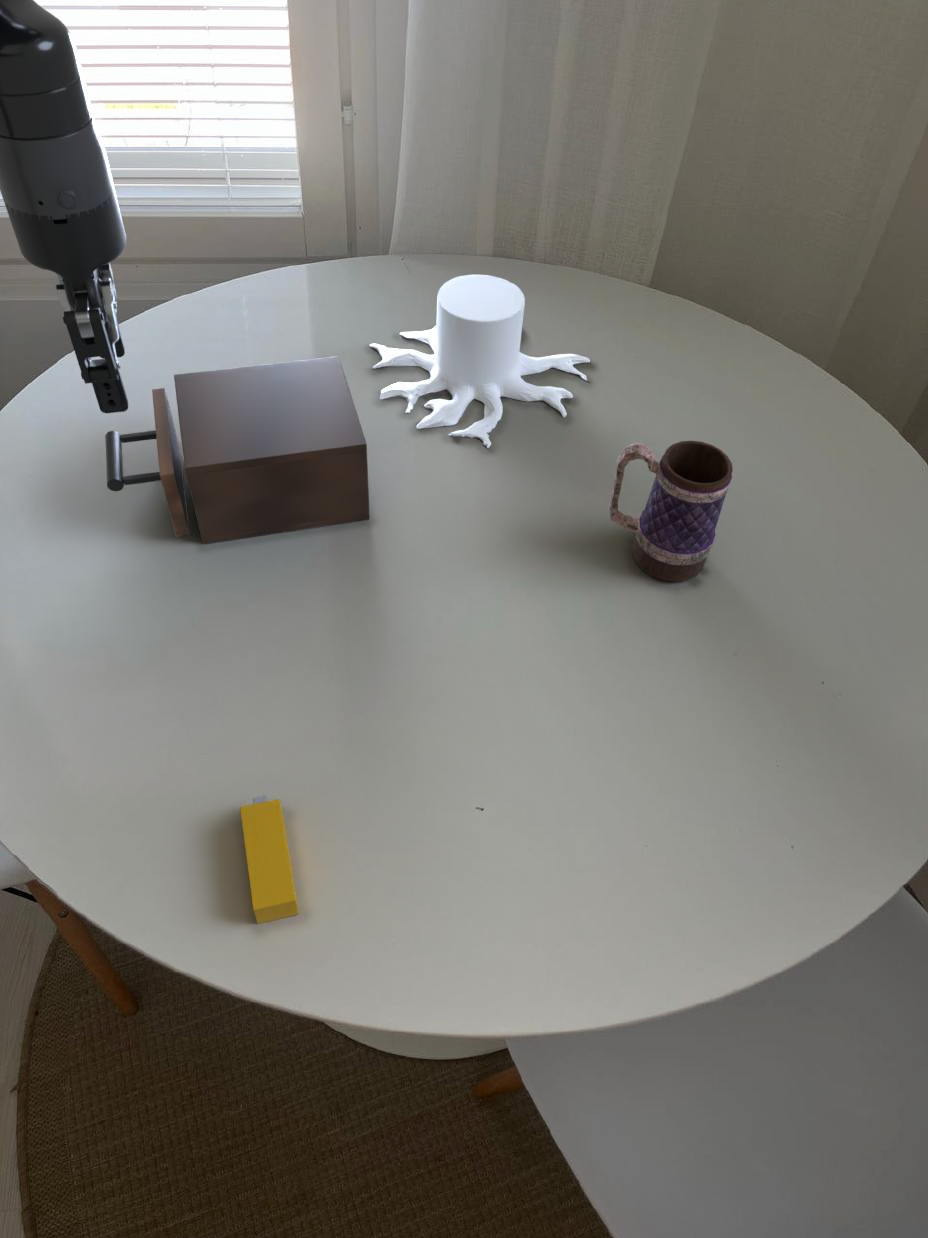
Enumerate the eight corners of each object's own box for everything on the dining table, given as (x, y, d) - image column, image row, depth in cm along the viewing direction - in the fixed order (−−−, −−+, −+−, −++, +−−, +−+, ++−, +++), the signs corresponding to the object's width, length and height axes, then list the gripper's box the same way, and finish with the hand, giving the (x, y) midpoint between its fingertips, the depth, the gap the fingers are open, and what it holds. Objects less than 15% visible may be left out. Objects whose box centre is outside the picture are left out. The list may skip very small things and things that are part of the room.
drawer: (120, 544, 82) (99, 483, 77) (116, 457, 90) (97, 395, 84) (333, 513, 86) (328, 452, 81) (312, 431, 94) (306, 371, 88)
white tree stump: (336, 353, 105) (331, 278, 97) (512, 297, 114) (519, 225, 107) (442, 465, 93) (445, 389, 86) (628, 392, 102) (645, 318, 95)
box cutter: (299, 914, 62) (295, 900, 60) (257, 924, 61) (253, 910, 60) (281, 802, 67) (277, 786, 66) (242, 810, 67) (238, 794, 65)
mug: (709, 541, 88) (745, 443, 78) (699, 592, 83) (735, 495, 74) (606, 515, 89) (629, 416, 80) (590, 564, 85) (613, 465, 76)
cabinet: (203, 544, 84) (184, 468, 77) (191, 450, 92) (173, 374, 85) (369, 519, 87) (366, 444, 80) (343, 431, 96) (338, 355, 89)
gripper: (5, 146, 68) (67, 339, 80) (-5, 240, 59) (67, 440, 72) (110, 140, 69) (155, 330, 82) (116, 230, 61) (165, 428, 73)
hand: (113, 381), depth 77 cm, fingers open, 7 cm apart
